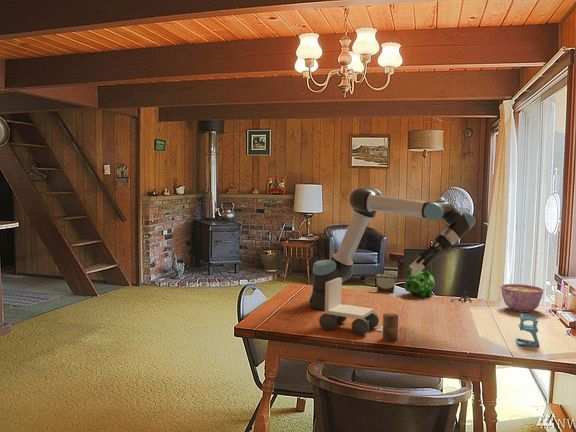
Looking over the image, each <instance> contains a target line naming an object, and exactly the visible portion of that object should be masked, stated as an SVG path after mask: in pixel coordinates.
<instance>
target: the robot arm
mask: <svg viewBox="0 0 576 432" xmlns="http://www.w3.org/2000/svg"><path fill="white" fill-rule="evenodd" d="M349 195H350V196H349V198H348V199H349V200H348V201H349V205H350V206H351V208H352V211H353V215H352V217H351V219H350V221H349V224H348V226H347V229H346V231H345V234H344V236H343V237H342V240H341V242H340V245H339V247H338V249H337V252H336V253H333V254H332V255H331V258H330V259H322V260H320V259H319V260H316V261H315V262H314V263H313V265H312V293H310V294H311V295H310V298H309V300H308V308H310V309H313V310H318V311H325V283H326V282H328V281H331V280H333V279H336V278H342V283H344V282H346V281H347V280H349V279H350V278H351V277H352V275H353V270H354V269H353V265H354V261H353V258H354V255H355V254H356V251H357V249H358V246H359V244H360V242H361V239H362V238H363V235H364V233H365V230H366V229H367V226H368V223H369V222H370V220H372V219H374V218H375V216H376V213H377V212H382V213H383V212H384V213H389V214H396V215H401V216H409V217H415V218H421V219H422V218H423V219H427V220H430V221H439V220H443V221H444V222H445V223H446V224H447V225H448V226H447V227H446V228H445V229H444V230H442V231H441V232H440V234H438V235H437V236H435V238H434V243H433V244H432V245H430V246H429V247H428V248H426V249H425V250H424V251H422V252H420V253H419V254H418V255H419V256H418V257H417V258H416V259H415V260H414V261H413V262H412V263H411V264H409V266H408V267H409V269H411V270H412V271H411V273H412V274H413V275H414V276H416V275H417V274H418V273H419V272H420V271H421V272H422V271H423V269H424V268H426V269H427V268H428V266H429V265H430V264H431V262H432V261H433V260H434V259H435V258H436V257H437V256H438V255H439V254H441V250H443V251H445V252H447V251H448V250H450V249H451V248H452V246H453V245H455V244H456V243H459V240H460V239H461V238H462V237H463V236H464V235H466V234H467V233H468V232H469V231H470V230H471V229H472V227H474V226H475V225H476V222H477V220H476V218H475V217H474V216H473V215H472V214H471V213H469V212H468V211H466V210H465V211H463V212H461V211H459V210H458V209H457V208H456V207H454V205H452V203H450V202H449V200H446V199H445V198H444V197H438V198H437V199H436V200H435V201H434V202H433V201H432V202H431V201H425V200H417V199H410V198H403V197H395V196H388V195H383V194H382V192H381V191H380V190H379V189H377V188H373V187H358V188H356V189H354V190H353V191H352V192H351V193H350V194H349Z"/></svg>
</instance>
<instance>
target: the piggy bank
mask: <svg viewBox="0 0 576 432" xmlns="http://www.w3.org/2000/svg"><path fill="white" fill-rule="evenodd" d="M411 271H412V269H411V268H408V269H407V270H406V272H407V274H408V279H407V281H405V283H404V290H405V291H406V292H408V293H409V294H410V296H413V297H415V296H417V295H418V296H419V297H420V298H426V297H427V296H428V297H429V296H431V294H432V293H433V289H434V288H435V285H436V282H435V281H436V280H435V279H434V276H433V275H432V274H431V273H430V272H429V271H422V270H421V271H420V272H419V273H418V274H417V275H416V276H414V275H413V274H412V273H411Z"/></svg>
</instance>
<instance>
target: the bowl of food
mask: <svg viewBox="0 0 576 432" xmlns="http://www.w3.org/2000/svg"><path fill="white" fill-rule="evenodd" d="M500 289H501V295H502V300H503V302H504V304H505V305H506V306H507V307H508V308H510V309H513V310H512V311H514V310H516V311H515V312H518V311H521V312H520V313H529V312H531V311H533V310H536V309H538V307H539V305H540V304H541V300H542V297H543V294H544V291H545V289H544V288H542V287H539V286H535V285H534V286H533V285H528V284H522V283H521V284H520V283H519V284H518V283H507V284H501V286H500Z"/></svg>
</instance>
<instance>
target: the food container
mask: <svg viewBox="0 0 576 432" xmlns="http://www.w3.org/2000/svg"><path fill="white" fill-rule="evenodd" d="M375 279H376V289H377V290H376V292H378V293H388V294H394V292H395V284H396V281H397V276H396V275H395V274H390V273H377V274H376V275H375Z"/></svg>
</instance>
